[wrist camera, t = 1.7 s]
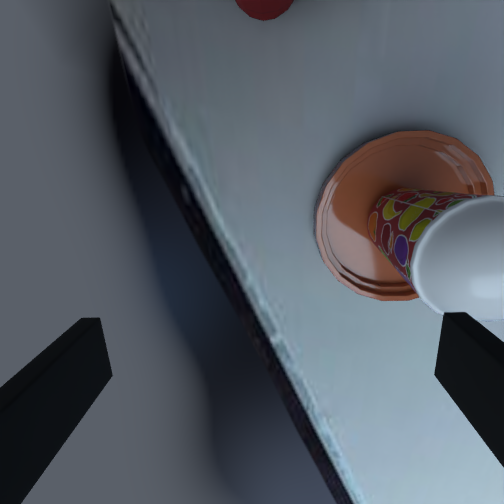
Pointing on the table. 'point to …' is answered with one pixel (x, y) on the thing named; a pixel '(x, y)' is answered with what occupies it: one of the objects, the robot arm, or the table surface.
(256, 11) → the plastic cup
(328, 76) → the table surface
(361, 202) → the plate
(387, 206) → the smoothie
